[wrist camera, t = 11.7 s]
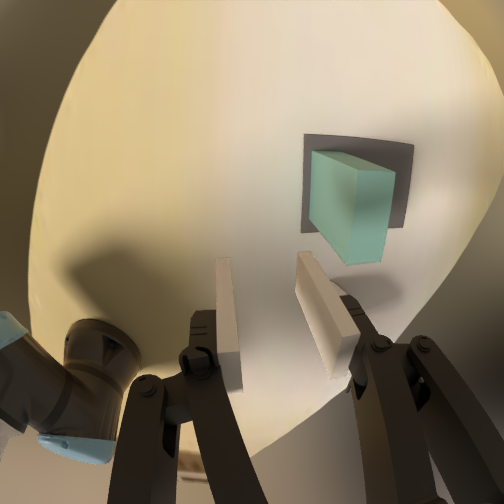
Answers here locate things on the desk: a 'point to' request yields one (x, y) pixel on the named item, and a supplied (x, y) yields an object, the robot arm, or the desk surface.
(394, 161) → the mat
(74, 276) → the desk surface
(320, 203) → the block
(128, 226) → the desk surface
